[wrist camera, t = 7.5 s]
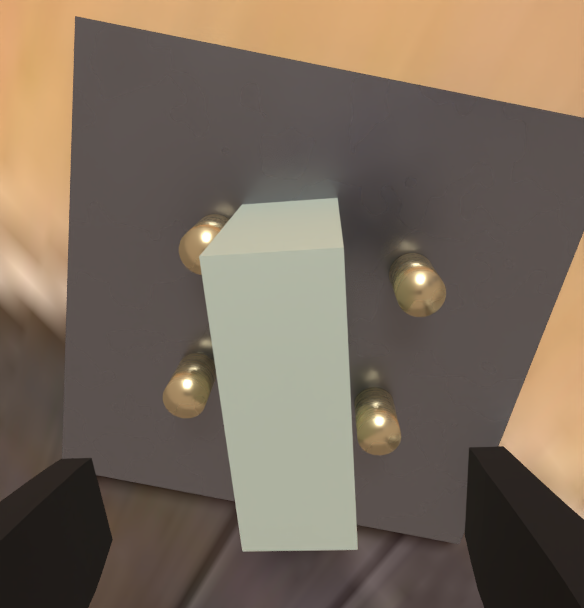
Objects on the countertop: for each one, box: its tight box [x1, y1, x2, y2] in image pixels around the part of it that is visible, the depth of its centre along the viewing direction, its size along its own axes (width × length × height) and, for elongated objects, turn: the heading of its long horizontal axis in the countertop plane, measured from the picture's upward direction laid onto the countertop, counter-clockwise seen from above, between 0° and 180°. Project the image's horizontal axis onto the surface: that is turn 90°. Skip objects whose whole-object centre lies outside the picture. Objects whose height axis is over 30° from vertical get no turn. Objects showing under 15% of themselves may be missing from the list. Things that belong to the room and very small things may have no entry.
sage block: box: [199, 198, 358, 551], centre depth 15 cm, size 3×8×6 cm, turn 4°
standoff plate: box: [62, 16, 584, 544], centre depth 17 cm, size 16×16×3 cm
